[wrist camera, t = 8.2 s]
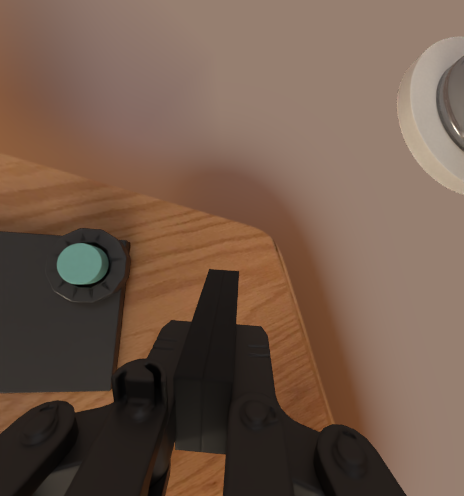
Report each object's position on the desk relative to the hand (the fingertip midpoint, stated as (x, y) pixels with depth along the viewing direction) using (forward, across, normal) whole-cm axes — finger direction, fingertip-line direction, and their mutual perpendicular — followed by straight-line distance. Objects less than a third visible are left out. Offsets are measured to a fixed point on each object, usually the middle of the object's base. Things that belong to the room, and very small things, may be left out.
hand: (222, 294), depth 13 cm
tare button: (+7, -12, -2) cm, 14 cm away
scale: (+7, -18, -7) cm, 20 cm away
